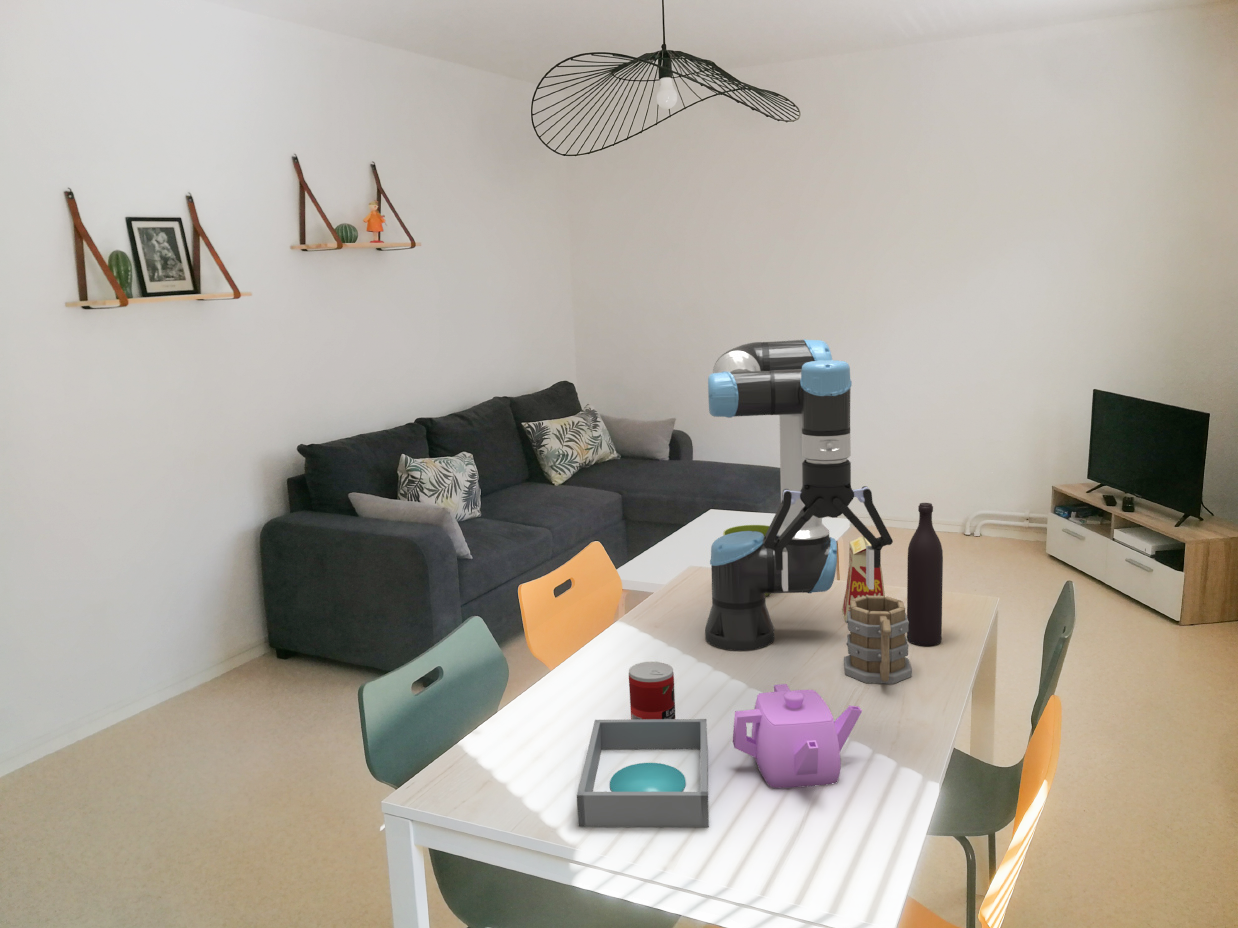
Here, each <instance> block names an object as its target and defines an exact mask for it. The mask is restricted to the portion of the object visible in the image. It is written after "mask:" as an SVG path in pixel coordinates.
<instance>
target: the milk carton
mask: <svg viewBox="0 0 1238 928" xmlns="http://www.w3.org/2000/svg"><path fill="white" fill-rule="evenodd" d="M866 546H871V544H870V543H869V542H868V541H867V540H866V538H865V537H864V536H863V535H861V536H858V537H857V538H855V539H853V540H851V541H850V542H849V547H848V548H849V551H848V552H849V553H848V569H847V570H848V571H847V577H846V578H847V579H846V586H845V593H844V597H843V598H844V599H843V602H842V608H841V612H842V615H844V616H843V618H844V622H845V623H847V622H846V620H847V612H848V611H850V601H851V600H853V599H856V598H859V597H862V596H865V597H866V596H885V597H886V591H885V585H884V576H883V571H882V564H881V565H880V567H879V568H874V589H869V588H868V587H867V585H866Z"/></svg>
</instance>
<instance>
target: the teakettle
mask: <svg viewBox="0 0 1238 928" xmlns="http://www.w3.org/2000/svg"><path fill="white" fill-rule="evenodd" d="M789 687H790V686H788V684H787V683H781V684H773V691H767V692H760V693H758V694H757V695H756V699H755V705H754V709H745V710H736V711H734V719H733V731H732V745H733V748H734V749H735V750H737V751H740V752H742V753H744V754H747V755H749V756H751V757H754V760H755V763H756V766H757V768H758V770H759V772H760V775H761V776H762V778H763V779H764V781H765V782H766V783H767V785H768V786H769V787H771V788H773V789H788V788H803V787H804V788H806V787H807V786H808V787H816V786H815V785H819V786H827V785H826V784H828V785H833V784H832V783H834V784H836V782H837V783H838V780H839V778H840V774H841V768H842V767H841V751H842V749H843V747H844V745H846V744H845V743H846V741H847V740H848V738H849V737H850V734H851V733H852V731H853V729H854V727H855V726H856V724H857V722H858V720H859V718H860V716H861V714H862V712H863V710H862V708H861V707H860V706H856V705H848V707H846V709H845V710H844V711H843V712H842V713H841V714H840V715H839V716H838V717H837V718H836V719H835V720H834V716H833V713H832V712H831V709H830V708H829V706H828V704H827V702H826V701H825V700H824V699H823V697H822V696H821V695H820V694H819V693H818V692H817V691H816V690H814V689H796V690H795V689H793V690H791V689H790V688H789ZM748 723H749V724H750V723H751V725H752V726H751V737H750V736H749V735H747V733H748V732H747V724H748Z"/></svg>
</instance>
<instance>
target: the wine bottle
mask: <svg viewBox="0 0 1238 928" xmlns="http://www.w3.org/2000/svg"><path fill="white" fill-rule="evenodd" d="M918 512H919V518H918V526H917V527H916V530H915V531H914V533H913V535H912V537H911V539H910V541H909V544H908V549H907V569H906V570H907V575H906V576H907V580H906V581H907V582H906V584H907V585H906V587H907V588H906V590H907V593H906V597H907V598H906V615H907V619H908V621H909V624H908V632H907V633H906V639H907V642H909V643H911V644H913V645H916V646H922V647H932V646H933V647H934V646H937V645H939V644H940V643H941V642H942V637H943V636H942V630H943V629H942V628H943V578H944V577H943V572H944V571H943V570H944V566H943V565H944V559H943V558H944V555H943V554H944V553H943V552H944V551H943V546H942V543H941V541H940V538H939V536H938V534H937V533H936V530H935V529H934V526H933V512H934V506H933V504H932V503H931V502H920V503H919V505H918Z"/></svg>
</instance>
